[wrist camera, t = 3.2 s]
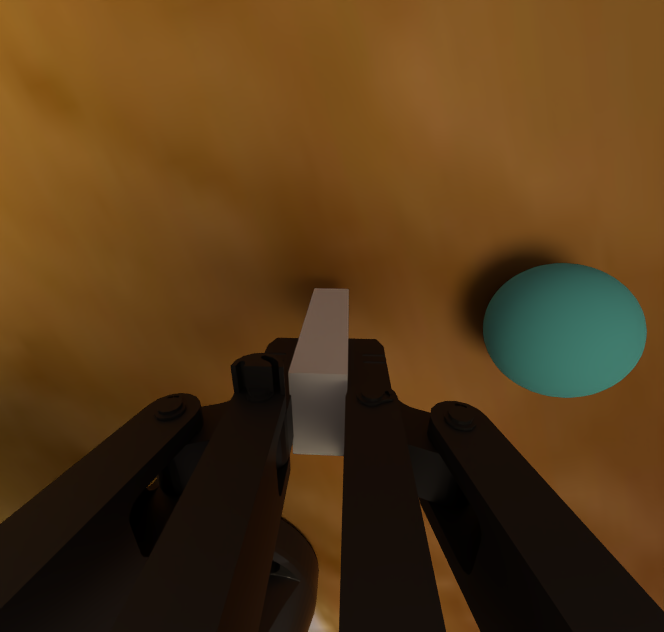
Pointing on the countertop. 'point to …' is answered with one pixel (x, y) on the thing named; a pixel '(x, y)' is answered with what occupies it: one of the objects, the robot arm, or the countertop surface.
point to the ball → (564, 330)
